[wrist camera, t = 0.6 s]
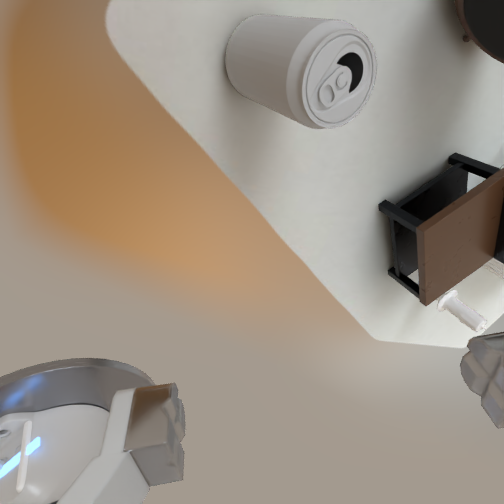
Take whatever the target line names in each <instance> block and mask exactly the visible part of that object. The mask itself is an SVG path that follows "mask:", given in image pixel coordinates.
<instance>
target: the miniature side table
mask: <svg viewBox="0 0 504 504" xmlns="http://www.w3.org/2000/svg"><path fill="white" fill-rule="evenodd" d="M449 164H451V165H453V166H452V167H451V168H449V169H448V170H446V171H445V172H443V173H442V174H440V175H439V176H437V177H436V178H434V179H433V180H431V181H430V182H428V183H427V184H426V185H424V186H423V187H421V188H420V189H418V190H417V191H415V192H414V193H412V194H411V195H409V196H408V197H406V198H405V199H403V200H402V201H400V202H399V203H397V204H396V205H394V204H392V203H390V202H389V201H387V200H384V201H383V202H381V203H380V204H379V211H381V212H383V213H384V214H386V215H387V216H389V219H390V228H391V237H392V245H393V254H394V262H395V267H394V266H393V267H392V268H390V269H389V270H388V275H390V276H391V277H392V278H393V279H395V280H396V281H397V282H398V283H400V284H401V285H402V286H404V287H405V288H406V289H407V290H409V291H410V292H411V293H412V294H414V295H415V296H416V297H417V298H419V299H420V302H421V303H422V304H424V305H425V306H427V305H429V304H430V303H431V302H433V301H434V300H436V299H437V298H438V297H440V296H441V295H442V294H444V293H445V292H447V291H448V290H449V289H451V288H452V287H454V286H455V285H456V284H458V283H459V282H460V281H462V280H463V279H465V278H466V277H467V276H469V275H470V274H471V273H473V272H474V271H476V270H477V269H478V268H480V267H481V266H482V265H484V264H485V263H487V262H488V261H489V260H491V259H492V258H494V259H496V260H498V261H499V262H501V263H503V264H504V168H502V169H499V168H496V167H493V166H491V165H488V164H485V163H482V162H480V161H477V160H474V159H471V158H469V157H466V156H463V155H461V154H458V153H454V154H453V155H451V156H450V157H449ZM468 172H471V173H473V174H476V175H478V176H481V177H483V178H486V180H485V181H483V182H482V183H480V184H479V185H477V186H476V187H474V188H473V189H471V190H470V191H469V192H467V181H468ZM417 269H418V272H419V285H418V284H416V283H415V282H414V281H412V280H411V279H410V278H408V277H407V276H408V275H410V274H411V273H413V272H414V271H416V270H417Z"/></svg>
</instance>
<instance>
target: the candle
mask: <svg viewBox="0 0 504 504" xmlns="http://www.w3.org/2000/svg"><path fill="white" fill-rule="evenodd" d="M457 295H458V292H457V291H456V290H452V291H450V292H447V293H444V294H442V295H441V296H440V297H438V298H437V299H436V300H438V305H437V310H438V311H444V310H445V309H447V310H448V311H449V312H451V313H452V314H453V315H455V316H456V317H457V318H458V319H459V320H460V322H462V323H464V324H465V325H467V326H468V327H470V328H471V329H472V330H474V331H475V332H478V331H480V330H482V329H485V325H486V323H487V320H486V319H485V318H484V317H483V316H481V315H480V314H479V313H478V312H477V311H475V310H472V309H471V308H469V307H468V306H466V305H465V304H464V303H462V302H461V301H459V300H458V299H457Z"/></svg>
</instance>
